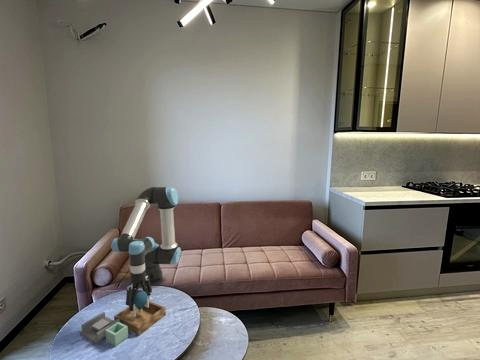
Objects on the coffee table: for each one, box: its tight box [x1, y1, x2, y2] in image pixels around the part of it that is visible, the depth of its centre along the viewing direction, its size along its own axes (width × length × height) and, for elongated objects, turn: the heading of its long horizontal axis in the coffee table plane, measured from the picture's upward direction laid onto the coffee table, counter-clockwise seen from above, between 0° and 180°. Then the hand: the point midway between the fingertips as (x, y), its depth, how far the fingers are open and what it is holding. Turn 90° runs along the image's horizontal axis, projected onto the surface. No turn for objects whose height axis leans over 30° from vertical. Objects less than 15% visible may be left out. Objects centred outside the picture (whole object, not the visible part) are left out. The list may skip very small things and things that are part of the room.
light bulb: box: [134, 289, 148, 312], centre depth 146 cm, size 8×8×12 cm
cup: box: [105, 322, 129, 348], centre depth 133 cm, size 7×7×6 cm
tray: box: [113, 301, 167, 336], centre depth 147 cm, size 18×18×4 cm
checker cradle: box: [79, 311, 120, 346], centre depth 138 cm, size 14×14×5 cm
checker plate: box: [92, 319, 110, 331], centre depth 138 cm, size 6×6×1 cm
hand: (140, 310), depth 147 cm, fingers closed on light bulb, 8 cm apart
